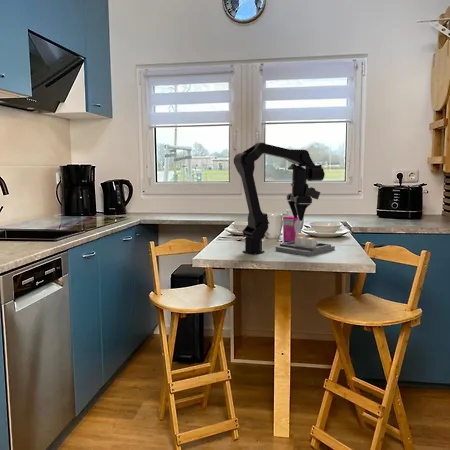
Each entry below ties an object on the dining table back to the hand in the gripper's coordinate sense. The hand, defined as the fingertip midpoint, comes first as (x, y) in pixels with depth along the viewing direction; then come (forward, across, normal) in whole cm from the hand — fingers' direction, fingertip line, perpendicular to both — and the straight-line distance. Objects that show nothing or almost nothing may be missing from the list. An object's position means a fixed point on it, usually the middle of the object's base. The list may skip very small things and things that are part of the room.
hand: (298, 219), depth 187 cm
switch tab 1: (+10, +2, -2) cm, 11 cm away
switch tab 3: (+11, -10, -3) cm, 15 cm away
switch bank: (+12, -4, -2) cm, 13 cm away
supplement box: (+12, +16, -1) cm, 20 cm away
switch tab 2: (+11, -6, 0) cm, 12 cm away
